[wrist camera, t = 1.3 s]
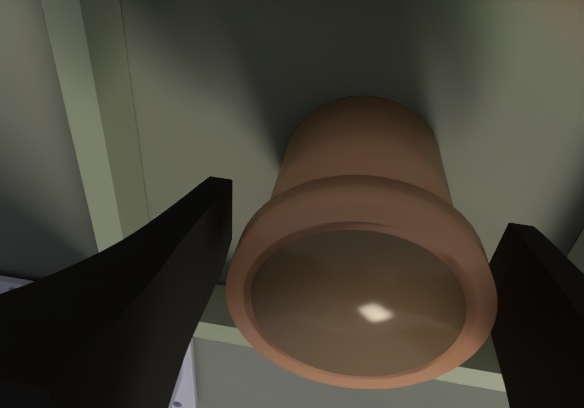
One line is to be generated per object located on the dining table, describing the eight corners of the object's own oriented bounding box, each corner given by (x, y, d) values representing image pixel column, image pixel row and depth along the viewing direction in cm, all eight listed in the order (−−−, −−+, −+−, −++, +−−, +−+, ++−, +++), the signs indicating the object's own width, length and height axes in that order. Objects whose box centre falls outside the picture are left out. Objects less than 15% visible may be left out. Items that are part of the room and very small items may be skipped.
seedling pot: (268, 224, 17) (225, 368, 12) (278, 70, 13) (223, 183, 8) (426, 249, 16) (450, 408, 11) (480, 97, 13) (547, 232, 8)
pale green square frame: (136, 286, 20) (115, 322, 18) (59, -150, 11) (5, -155, 9) (534, 354, 18) (549, 399, 17) (817, -69, 10) (908, -59, 8)
